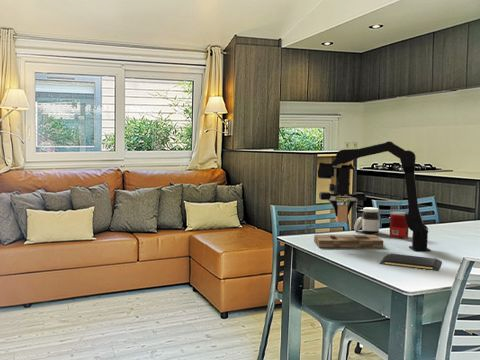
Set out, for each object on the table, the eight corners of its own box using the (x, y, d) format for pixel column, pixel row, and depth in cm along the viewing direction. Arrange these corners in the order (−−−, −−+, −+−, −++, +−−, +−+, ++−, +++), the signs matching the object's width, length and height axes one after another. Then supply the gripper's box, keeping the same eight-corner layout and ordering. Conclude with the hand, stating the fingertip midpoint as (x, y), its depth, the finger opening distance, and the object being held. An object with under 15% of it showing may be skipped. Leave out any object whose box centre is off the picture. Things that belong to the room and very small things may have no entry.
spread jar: (379, 235, 217) (380, 210, 216) (354, 234, 219) (354, 209, 218) (377, 230, 228) (378, 206, 227) (353, 229, 231) (354, 205, 230)
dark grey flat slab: (443, 257, 172) (438, 268, 159) (442, 263, 172) (438, 273, 159) (386, 251, 181) (377, 260, 168) (386, 256, 181) (377, 265, 168)
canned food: (410, 238, 210) (411, 214, 209) (392, 238, 210) (393, 214, 209) (404, 235, 218) (405, 211, 217) (387, 234, 218) (388, 211, 217)
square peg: (347, 222, 198) (347, 206, 198) (337, 222, 198) (338, 205, 198) (344, 220, 202) (345, 204, 202) (335, 220, 202) (336, 204, 202)
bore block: (383, 248, 192) (383, 240, 192) (319, 248, 191) (319, 240, 191) (374, 241, 204) (374, 234, 203) (314, 241, 203) (314, 234, 203)
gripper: (360, 178, 206) (358, 213, 208) (317, 177, 206) (316, 212, 208) (367, 180, 195) (365, 218, 197) (321, 179, 195) (320, 217, 197)
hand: (341, 216), depth 200 cm, fingers closed on square peg, 4 cm apart
